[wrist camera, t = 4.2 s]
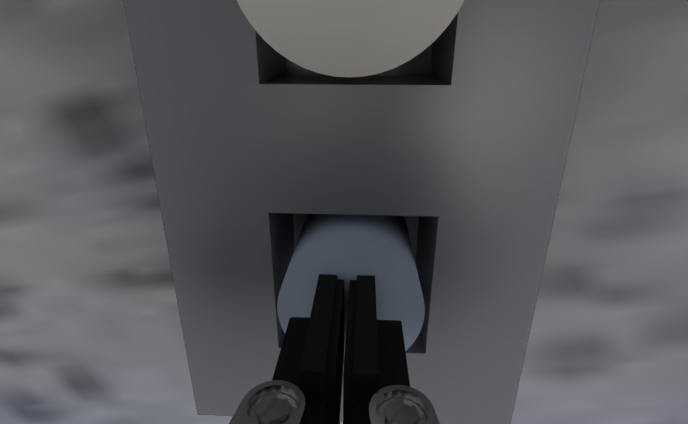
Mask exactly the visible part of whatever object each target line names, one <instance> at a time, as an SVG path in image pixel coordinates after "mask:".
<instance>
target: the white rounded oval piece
mask: <svg viewBox="0 0 688 424" xmlns="http://www.w3.org/2000/svg"><path fill="white" fill-rule="evenodd" d="M237 2H238V4H239V6H240V8H241V10H242V12H243V13H244V15H245V16H246V18H247V19H248V21H249V22H250V24H251V25H252V27H253V28H254V29H255V30H256V31H257V33H258V34H259V35H260V36H261V37H262V38H263V40H264V41H266V42H267V43H268V44H269V45H270V46H271V47H272V48H273V49H274V50H275V51H277V52H278V53H280V54H281V55H282V56H284V57H285V58H287V59H288V60H290V61H291V62H293V63H295V64H297V65H299V66H301V67H303V68H305V69H308V70H311V71H314V72H316V73H320V74H325V75H329V76H335V77H348V78H349V77H364V76H369V75H374V74H379V73H382V72H385V71H388V70H391V69H394V68H396V67H398V66H400V65H402V64H404V63H406V62H408V61H409V60H411V59H412V58H414V57H415V56H417V55H418V54H420V53H421V52H423V51H424V50H425V49H426V48H427V47H428V46H430V45H431V44H432V43H433V42H434V41H435V40H436V39H437V38H438V37H439V36H440V35H441V34H442V32H443V31H444V30H445V29H446V28H447V27H448V25H449V24H450V23H451V21H452V20H453V18H454V17H455V16H456V14H457V13H458V11H459V9H460V7H461V6H462V4H463V2H464V0H237Z"/></svg>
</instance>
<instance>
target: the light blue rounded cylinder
mask: <svg viewBox="0 0 688 424" xmlns="http://www.w3.org/2000/svg"><path fill="white" fill-rule="evenodd" d="M319 274H332V275H337V277H338V279H339V280H344V355H345V341H346V327H347V312H348V298H349V284H350V280H357V275H368V276H375V288H376V312H377V320H401V322H402V329H403V337H404V344H405V351H407V350H408V348H409V347H410V346H411V345H412V344H413V343H414V341H415V340H416V339H417V337H418V335H419V333H420V331H421V328H422V325H423V322H424V316H425V305H424V298H423V294H422V289H421V285H420V281H419V276H418V272H417V267H416V263H415V258H414V254H413V250H412V245H411V241H410V236H409V232H408V228H407V224H406V221H405V219H404V217H403V216H391V215H344V214H308V216H307V218H306V220H305V222H304V225H303V228H302V230H301V233H300V236H299V239H298V242H297V244H296V247H295V250H294V253H293V255H292V258H291V261H290V264H289V266H288V269H287V272H286V275H285V277H284V280H283V283H282V286H281V289H280V292H279V296H278V302H277V311H278V317H279V321H280V324H281V327H282V329H283V331H284V333H286V329H287V326H288V322H289V319H290V318H291V317H309V318H310V315H311V310H312V306H313V301H314V296H315V291H316V287H317V282H318V277H319ZM343 369H344V367H343Z"/></svg>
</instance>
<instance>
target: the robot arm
mask: <svg viewBox="0 0 688 424" xmlns="http://www.w3.org/2000/svg"><path fill="white" fill-rule="evenodd" d="M343 367H344V373H343ZM342 381H343V424H440V422H439V420H438V417H437V414H436V412H435V409H434V407H433V405H432V403H431V401H430V400H429V399H428V398H427V397H426V396H425V395H424V394H423V393H422V392H420V391H418V390H417V389H415V388H412V387H410V382H409V374H408V367H407V359H406V352H405V344H404V337H403V329H402V322H401V320H377V312H376V288H375V276H368V275H357V280H350V284H349V298H348V312H347V327H346V341H345V355H344V280H339V279H338V277H337V275H332V274H319V277H318V282H317V287H316V291H315V296H314V301H313V306H312V310H311V315H310V318H309V317H291V318H290V319H289V322H288V326H287V329H286V333H285V336H284V340H283V343H282V347H281V350H280V354H279V357H278V361H277V364H276V368H275V371H274V375H273V378H272V381H267V382H264V383H261V384H259V385H257V386H255V387H254V388H252V389H251V390H250V391H249V392H248V393H247V394H246V395H245V396H244V398H243V399H242V401H241V403H240V405H239V406H238V408H237V410H236V412H235V414H234V416H233V417H232V419H231V421H230V423H229V424H340V410H341V396H342Z"/></svg>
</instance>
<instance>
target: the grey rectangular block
mask: <svg viewBox="0 0 688 424" xmlns="http://www.w3.org/2000/svg"><path fill="white" fill-rule="evenodd" d="M123 2H124V7H125V13H126V18H127V24H128V29H129V35H130V41H131V46H132V52H133V57H134V63H135V69H136V74H137V80H138V85H139V91H140V96H141V102H142V108H143V113H144V119H145V124H146V130H147V135H148V141H149V147H150V152H151V158H152V163H153V169H154V174H155V180H156V186H157V191H158V197H159V202H160V208H161V214H162V219H163V225H164V230H165V236H166V241H167V247H168V253H169V258H170V264H171V269H172V275H173V280H174V286H175V292H176V297H177V303H178V308H179V314H180V319H181V325H182V331H183V336H184V342H185V347H186V353H187V359H188V364H189V370H190V375H191V381H192V386H193V392H194V398H195V403H196V409H197V414H198V415H218V416H234V414H235V412H236V410H237V408H238V406H239V405H240V403H241V401H242V399H243V398H244V396H245V395H246V394H247V393H248V392H249V391H250V390H251V389H252V388H254V387H255V386H257V385H259V384H261V383H264V382H267V381H272V378H273V375H274V371H275V368H276V364H277V361H278V357H279V354H280V350H281V347H282V343H283V340H284V336H285V333H284V331H283V329H282V327H281V324H280V321H279V317H278V311H277V302H278V296H279V292H280V289H281V286H282V283H283V280H284V277H285V275H286V272H287V269H288V266H289V264H290V261H291V258H292V255H293V253H294V250H295V247H296V244H297V242H298V239H299V236H300V233H301V230H302V228H303V225H304V222H305V220H306V218H307V216H308V214H344V215H391V216H403V217H404V219H405V221H406V224H407V228H408V232H409V236H410V241H411V245H412V250H413V254H414V258H415V263H416V267H417V272H418V276H419V281H420V285H421V289H422V294H423V298H424V305H425V316H424V322H423V325H422V328H421V331H420V333H419V335H418V337H417V339H416V340H415V341H414V343H413V344H412V345H411V346H410V347H409V348H408V350H407V351H405V352H406V359H407V367H408V374H409V382H410V387H412V388H415V389H417V390H418V391H420V392H422V393H423V394H424V395H425V396H426V397H427V398H428V399H429V400H430V401H431V403H432V405H433V407H434V409H435V412H436V414H437V417H438V420H439V422H440V424H511V419H512V414H513V410H514V405H515V400H516V395H517V391H518V386H519V381H520V376H521V372H522V367H523V362H524V357H525V353H526V348H527V343H528V338H529V334H530V329H531V324H532V320H533V315H534V310H535V305H536V301H537V296H538V291H539V286H540V282H541V277H542V272H543V267H544V263H545V258H546V253H547V248H548V244H549V239H550V234H551V229H552V225H553V220H554V215H555V210H556V206H557V201H558V196H559V191H560V187H561V182H562V177H563V172H564V168H565V163H566V158H567V153H568V149H569V144H570V139H571V135H572V130H573V125H574V120H575V116H576V111H577V106H578V101H579V97H580V92H581V87H582V82H583V78H584V73H585V68H586V63H587V59H588V54H589V49H590V44H591V40H592V35H593V30H594V25H595V21H596V16H597V11H598V6H599V2H600V0H464V2H463V4H462V6H461V7H460V9H459V11H458V13H457V14H456V16H455V17H454V18H453V20H452V21H451V23H450V24H449V25H448V27H447V28H446V29H445V30H444V31H443V32H442V34H441V35H440V36H439V37H438V38H437V39H436V40H435V41H434V42H433V43H432V44H431V45H430V46H428V47H427V48H426V49H425V50H424V51H423V52H421V53H420V54H418V55H417V56H415V57H414V58H412V59H411V60H409V61H408V62H406V63H404V64H402V65H400V66H398V67H396V68H394V69H391V70H388V71H385V72H382V73H379V74H374V75H369V76H364V77H349V78H348V77H335V76H329V75H325V74H320V73H316V72H314V71H311V70H308V69H305V68H303V67H301V66H299V65H297V64H295V63H293V62H291V61H290V60H288V59H287V58H285V57H284V56H282V55H281V54H280V53H278V52H277V51H275V50H274V49H273V48H272V47H271V46H270V45H269V44H268V43H267V42H266V41H264V40H263V38H262V37H261V36H260V35H259V34H258V33H257V31H256V30H255V29H254V28H253V27H252V25H251V24H250V22H249V21H248V19H247V18H246V16H245V15H244V13H243V12H242V10H241V8H240V6H239V4H238V2H237V0H123ZM343 373H344V369H343ZM340 421H343V381H342V396H341V410H340Z"/></svg>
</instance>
